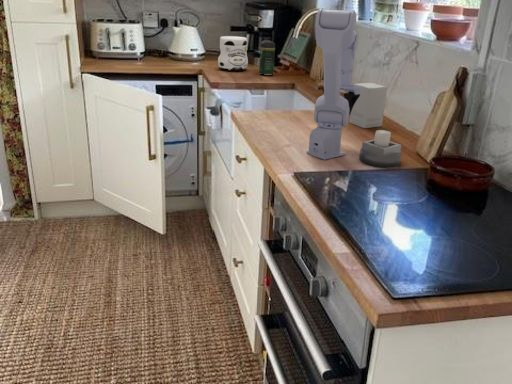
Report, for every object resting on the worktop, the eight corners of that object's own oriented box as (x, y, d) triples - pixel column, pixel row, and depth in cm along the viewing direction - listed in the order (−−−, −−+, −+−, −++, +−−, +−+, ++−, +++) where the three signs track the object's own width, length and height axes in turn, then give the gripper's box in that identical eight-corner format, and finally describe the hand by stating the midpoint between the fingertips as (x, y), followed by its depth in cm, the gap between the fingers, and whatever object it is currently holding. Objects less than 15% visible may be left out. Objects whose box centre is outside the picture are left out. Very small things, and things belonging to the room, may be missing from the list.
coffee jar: (274, 76, 272) (276, 41, 264) (260, 76, 271) (262, 41, 263) (271, 73, 281) (273, 39, 273) (257, 73, 279) (259, 39, 272)
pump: (382, 154, 144) (386, 135, 142) (370, 151, 147) (372, 131, 145) (393, 151, 148) (396, 131, 146) (380, 147, 151) (383, 128, 148)
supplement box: (382, 126, 185) (388, 86, 179) (364, 128, 181) (369, 88, 175) (366, 120, 192) (371, 82, 186) (348, 122, 188) (353, 83, 182)
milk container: (237, 73, 275) (238, 40, 268) (211, 69, 283) (212, 37, 276) (253, 69, 289) (254, 38, 282) (228, 66, 297) (229, 35, 290)
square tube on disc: (382, 170, 141) (385, 152, 138) (351, 158, 149) (353, 141, 147) (408, 163, 148) (411, 145, 145) (376, 152, 156) (378, 135, 154)
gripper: (369, 72, 153) (363, 115, 158) (335, 65, 163) (331, 106, 169) (354, 74, 149) (349, 118, 154) (320, 67, 159) (316, 108, 164)
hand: (338, 112), depth 161 cm, fingers open, 7 cm apart
